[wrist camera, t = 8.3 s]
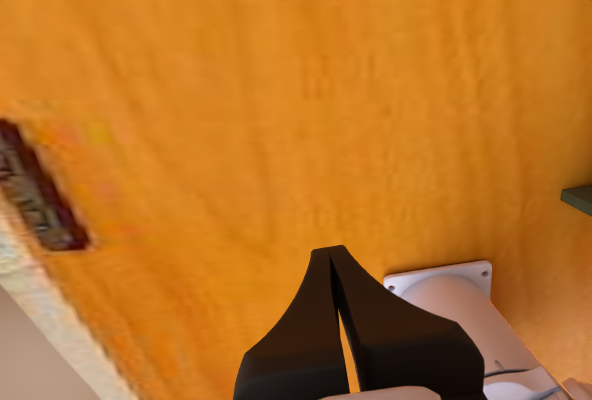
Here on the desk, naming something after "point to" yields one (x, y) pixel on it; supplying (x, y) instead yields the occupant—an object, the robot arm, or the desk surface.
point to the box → (579, 198)
